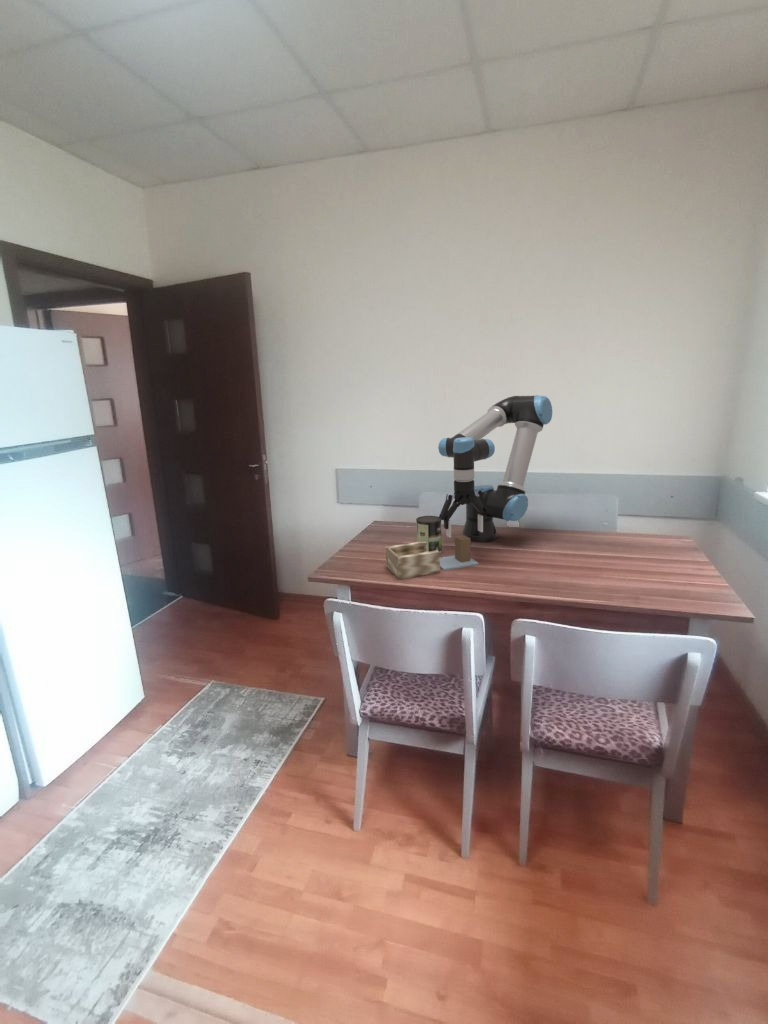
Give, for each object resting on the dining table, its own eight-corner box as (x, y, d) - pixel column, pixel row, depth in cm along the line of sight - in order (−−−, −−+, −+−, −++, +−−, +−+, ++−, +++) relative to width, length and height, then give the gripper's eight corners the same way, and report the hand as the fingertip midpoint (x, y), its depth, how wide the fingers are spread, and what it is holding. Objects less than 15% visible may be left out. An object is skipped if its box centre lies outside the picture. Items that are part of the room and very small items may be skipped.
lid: (464, 556, 193) (464, 532, 191) (478, 565, 183) (478, 540, 180) (431, 561, 189) (430, 537, 186) (444, 571, 178) (443, 545, 176)
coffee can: (442, 547, 203) (442, 515, 200) (440, 556, 194) (440, 522, 190) (418, 547, 205) (417, 515, 202) (415, 555, 196) (414, 521, 192)
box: (424, 560, 189) (424, 541, 187) (439, 572, 176) (439, 551, 174) (386, 566, 184) (385, 546, 182) (399, 579, 172) (398, 558, 170)
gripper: (488, 474, 186) (488, 526, 192) (429, 482, 179) (430, 536, 184) (498, 477, 179) (498, 531, 185) (437, 485, 172) (439, 541, 177)
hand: (464, 534), depth 185 cm, fingers open, 13 cm apart
